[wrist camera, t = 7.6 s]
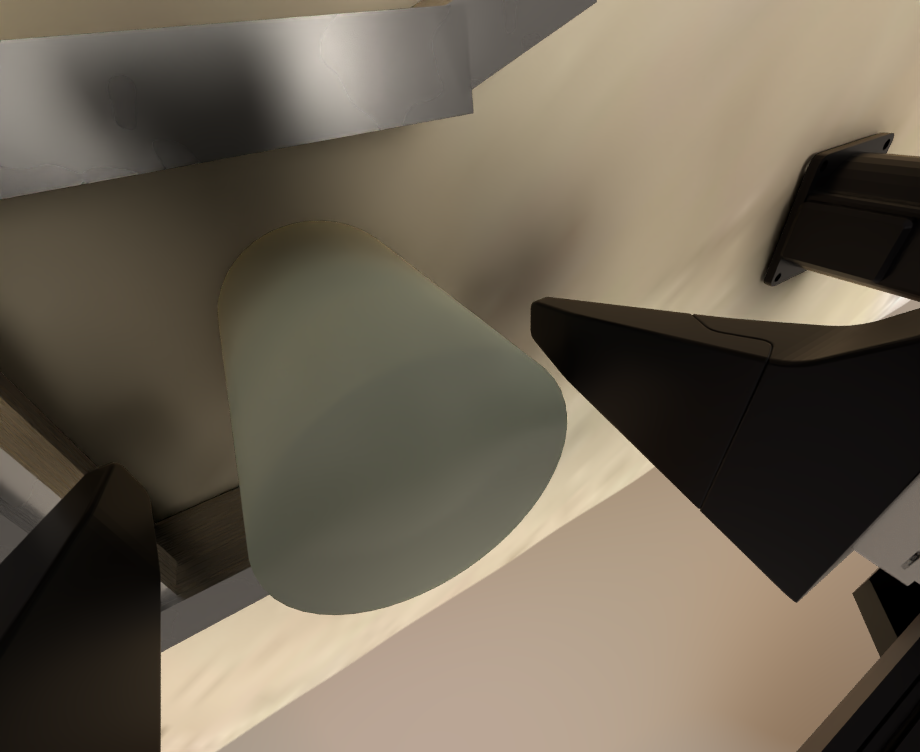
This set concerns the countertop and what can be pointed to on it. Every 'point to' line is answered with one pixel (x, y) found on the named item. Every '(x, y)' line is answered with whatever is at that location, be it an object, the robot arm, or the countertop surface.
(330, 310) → the grey rounded piece
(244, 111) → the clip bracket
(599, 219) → the countertop surface
